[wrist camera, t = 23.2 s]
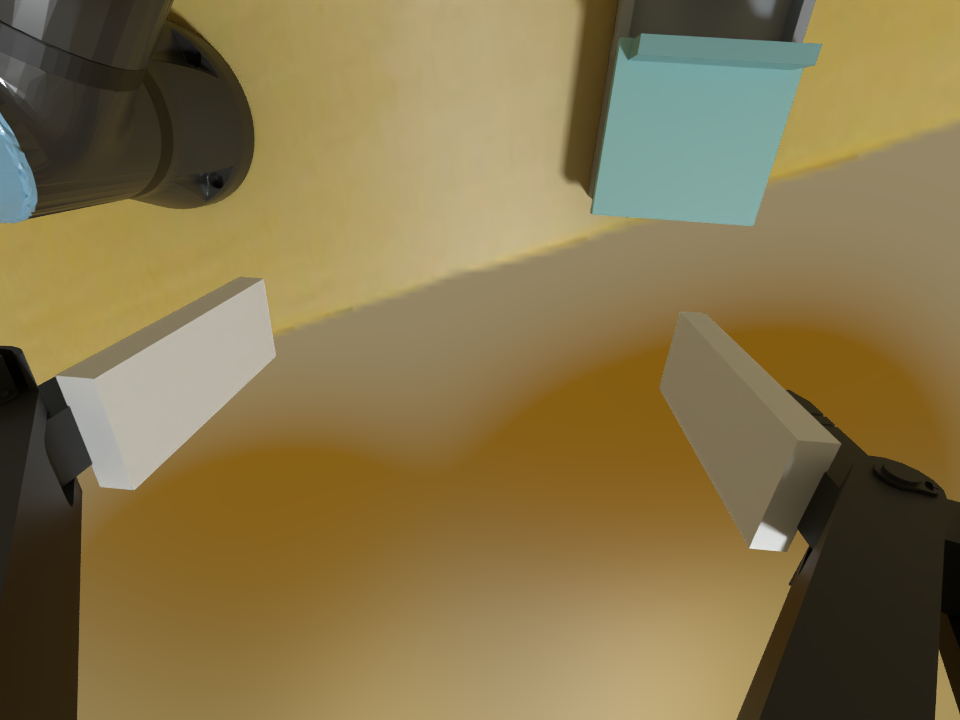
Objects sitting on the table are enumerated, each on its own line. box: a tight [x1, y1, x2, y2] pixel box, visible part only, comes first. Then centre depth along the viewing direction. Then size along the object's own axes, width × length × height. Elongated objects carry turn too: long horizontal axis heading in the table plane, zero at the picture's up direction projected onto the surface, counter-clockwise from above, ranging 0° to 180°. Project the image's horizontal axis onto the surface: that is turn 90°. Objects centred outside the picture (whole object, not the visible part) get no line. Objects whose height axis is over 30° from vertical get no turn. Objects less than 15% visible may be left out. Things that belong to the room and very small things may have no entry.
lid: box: [590, 33, 822, 226], centre depth 36 cm, size 14×13×4 cm
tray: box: [588, 0, 816, 199], centre depth 35 cm, size 14×27×2 cm, turn 177°
